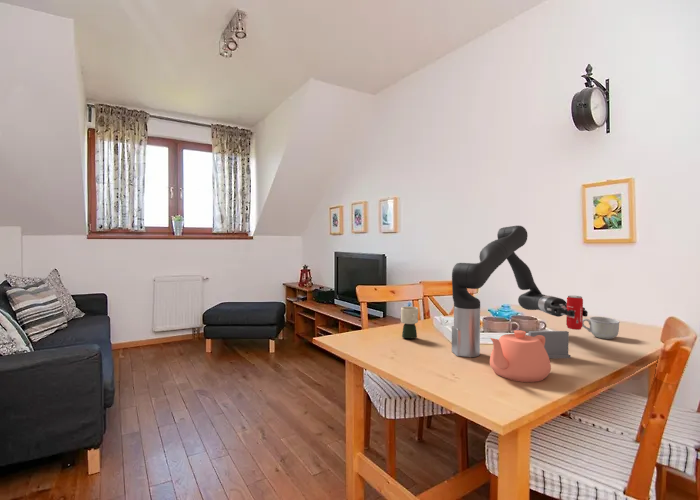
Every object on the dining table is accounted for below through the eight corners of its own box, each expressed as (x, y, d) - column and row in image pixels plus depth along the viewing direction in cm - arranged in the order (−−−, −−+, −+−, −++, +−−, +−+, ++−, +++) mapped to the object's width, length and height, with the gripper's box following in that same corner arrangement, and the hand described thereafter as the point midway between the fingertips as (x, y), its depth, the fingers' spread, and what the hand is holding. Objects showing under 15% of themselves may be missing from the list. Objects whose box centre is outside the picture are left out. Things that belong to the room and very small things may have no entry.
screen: (532, 358, 132) (532, 333, 132) (526, 355, 136) (526, 330, 136) (570, 358, 133) (570, 332, 133) (563, 354, 137) (563, 330, 137)
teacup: (618, 336, 164) (618, 318, 164) (620, 342, 155) (620, 322, 155) (580, 332, 171) (581, 314, 171) (580, 337, 162) (580, 318, 162)
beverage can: (584, 330, 138) (585, 297, 138) (569, 329, 139) (569, 297, 139) (579, 326, 143) (579, 295, 143) (564, 326, 145) (564, 295, 144)
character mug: (422, 341, 155) (422, 309, 155) (406, 342, 154) (406, 310, 153) (412, 334, 166) (412, 305, 166) (397, 335, 164) (397, 305, 164)
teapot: (514, 391, 104) (514, 342, 103) (467, 372, 118) (468, 330, 118) (568, 375, 116) (568, 332, 115) (520, 360, 130) (520, 322, 130)
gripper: (535, 296, 155) (561, 303, 138) (569, 296, 156) (599, 303, 139) (535, 314, 155) (561, 324, 138) (568, 314, 156) (598, 323, 139)
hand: (580, 313), depth 139 cm, fingers closed on beverage can, 4 cm apart
